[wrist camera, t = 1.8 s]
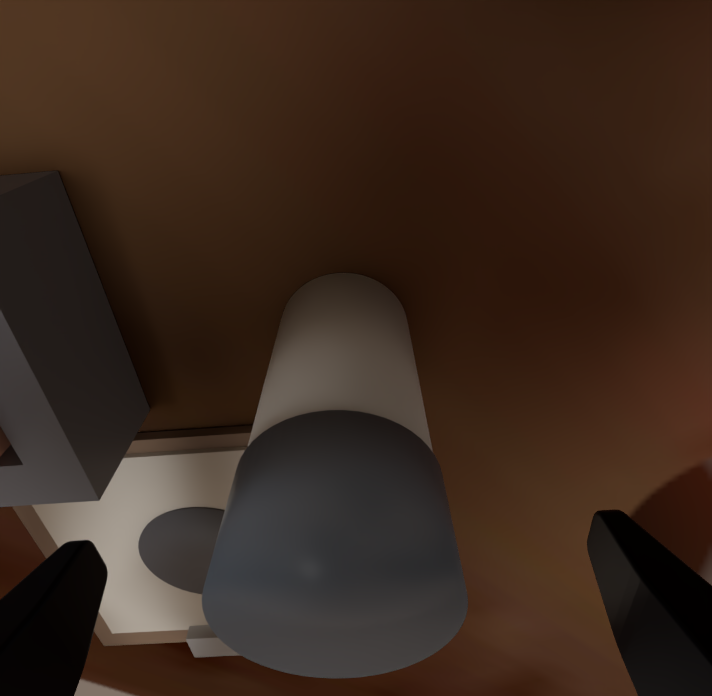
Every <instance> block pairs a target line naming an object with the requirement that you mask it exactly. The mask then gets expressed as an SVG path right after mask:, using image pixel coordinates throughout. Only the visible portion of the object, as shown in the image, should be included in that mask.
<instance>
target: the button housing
mask: <svg viewBox="0 0 712 696" xmlns="http://www.w3.org/2000/svg"><path fill="white" fill-rule="evenodd" d="M149 411H150V408H149V405H148V403H147V400H146V398H145V395H144V393H143V390H142V387H141V385H140V382H139V380H138V377H137V374H136V372H135V369H134V367H133V364H132V361H131V359H130V356H129V354H128V351H127V349H126V346H125V343H124V341H123V338H122V336H121V333H120V330H119V328H118V325H117V323H116V320H115V317H114V315H113V312H112V310H111V307H110V305H109V302H108V299H107V297H106V294H105V292H104V289H103V286H102V284H101V281H100V279H99V276H98V273H97V271H96V268H95V266H94V263H93V261H92V258H91V255H90V253H89V250H88V248H87V245H86V242H85V240H84V237H83V235H82V232H81V229H80V227H79V224H78V222H77V219H76V217H75V214H74V211H73V209H72V206H71V204H70V201H69V198H68V196H67V193H66V191H65V188H64V185H63V183H62V180H61V178H60V175H59V173H58V171H47V172H36V173H25V174H14V175H3V176H0V427H1V429H2V430H3V432H4V434H5V435H6V437H7V438H8V440H9V442H10V443H11V445H10V446H9V447H8V448H7V449H6V451H5V452H4V453H3V454H2V455H1V456H0V507H7V506H23V505H39V504H55V503H71V502H87V501H100V499H101V497H102V495H103V494H104V492H105V490H106V488H107V486H108V485H109V483H110V481H111V479H112V477H113V476H114V474H115V472H116V470H117V468H118V467H119V465H120V463H121V461H122V459H123V458H124V456H125V454H126V452H127V450H128V449H129V447H130V445H131V443H132V441H133V440H134V438H135V436H136V434H137V432H138V431H139V429H140V427H141V425H142V423H143V422H144V420H145V418H146V416H147V415H148V413H149Z"/></svg>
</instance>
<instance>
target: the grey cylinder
mask: <svg viewBox="0 0 712 696" xmlns="http://www.w3.org/2000/svg"><path fill="white" fill-rule="evenodd" d="M467 608H468V598H467V591H466V586H465V582H464V577H463V572H462V567H461V562H460V557H459V553H458V548H457V543H456V538H455V533H454V528H453V524H452V519H451V514H450V509H449V504H448V499H447V495H446V490H445V485H444V480H443V475H442V472H441V468H440V465H439V463H438V461H437V458H436V456H435V455H434V453H433V450H432V445H431V440H430V435H429V430H428V425H427V420H426V415H425V409H424V404H423V399H422V394H421V389H420V384H419V379H418V373H417V368H416V363H415V358H414V353H413V348H412V343H411V337H410V332H409V327H408V322H407V318H406V314H405V311H404V309H403V306H402V305H401V303H400V301H399V300H398V298H397V297H396V296H395V295H394V294H393V292H391V291H390V290H389V289H388V288H387V287H386V286H384V285H383V284H381V283H380V282H378V281H376V280H374V279H372V278H369V277H367V276H364V275H359V274H354V273H333V274H327V275H324V276H320V277H318V278H315V279H313V280H311V281H309V282H308V283H306V284H304V285H303V286H302V287H300V288H299V289H298V290H297V291H296V292H295V293H294V294H293V295H292V297H291V298H290V299H289V301H288V302H287V304H286V306H285V308H284V311H283V314H282V317H281V321H280V325H279V329H278V333H277V336H276V340H275V344H274V348H273V352H272V355H271V359H270V363H269V367H268V371H267V374H266V378H265V382H264V386H263V390H262V393H261V397H260V401H259V405H258V409H257V412H256V416H255V420H254V424H253V428H252V431H251V435H250V439H249V443H248V447H247V448H246V450H245V451H244V453H243V455H242V456H241V458H240V460H239V463H238V466H237V468H236V472H235V475H234V479H233V483H232V486H231V490H230V493H229V497H228V501H227V504H226V508H225V512H224V515H223V519H222V522H221V526H220V530H219V533H218V537H217V541H216V544H215V548H214V551H213V555H212V559H211V562H210V566H209V570H208V573H207V577H206V580H205V584H204V588H203V593H202V609H203V613H204V616H205V619H206V621H207V623H208V624H209V626H210V628H211V629H212V631H213V632H214V633H215V634H216V636H217V637H218V638H219V639H220V640H221V641H222V642H223V643H224V644H226V645H227V646H228V647H229V648H231V649H232V650H234V651H235V652H236V653H238V654H240V655H242V656H243V657H245V658H247V659H249V660H251V661H253V662H256V663H258V664H260V665H263V666H266V667H269V668H272V669H275V670H278V671H282V672H286V673H291V674H296V675H301V676H309V677H318V678H354V677H365V676H372V675H378V674H382V673H387V672H391V671H395V670H398V669H401V668H405V667H407V666H410V665H412V664H415V663H417V662H419V661H421V660H423V659H425V658H427V657H429V656H431V655H432V654H434V653H435V652H437V651H439V650H440V649H441V648H442V647H444V646H445V645H446V644H447V643H448V642H450V640H451V639H452V638H453V637H454V636H455V635H456V634H457V632H458V631H459V629H460V628H461V626H462V624H463V622H464V619H465V617H466V613H467Z"/></svg>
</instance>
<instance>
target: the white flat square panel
mask: <svg viewBox="0 0 712 696" xmlns="http://www.w3.org/2000/svg"><path fill="white" fill-rule="evenodd" d="M252 428H253V425H249V426H234V427H220V428H205V429H190V430H176V431H161V432H146V433H137V434H136V436H135V438H134V440H133V441H132V443H131V445H130V447H129V449H128V450H127V452H126V454H125V456H124V458H123V459H122V461H121V463H120V465H119V467H118V468H117V470H116V472H115V474H114V476H113V477H112V479H111V481H110V483H109V485H108V486H107V488H106V490H105V492H104V494H103V495H102V497H101V499H100V501H87V502H71V503H55V504H39V505H23V506H12V507H13V509H14V510H15V512H16V513H17V515H18V516H19V518H20V519H21V521H22V522H23V524H24V525H25V527H26V528H27V530H28V531H29V533H30V535H31V536H32V538H33V539H34V541H35V542H36V544H37V545H38V547H39V548H40V550H41V551H42V553H43V554H44V556H45V557H46V559H47V558H48V557H49V556H50V555H51V554H52V553H54V552H55V551H56V550H57V549H58V548H59V547H60V546H62V545H63V544H64V543H66V542H69V541H77V540H89V541H91V542H93V544H94V545H95V547H96V548H97V550H98V552H99V554H100V555H101V557H102V559H103V561H104V562H105V564H106V566H107V571H108V576H107V582H106V586H105V590H104V594H103V598H102V601H101V605H100V609H99V613H98V617H97V621H96V624H95V628H94V631H95V633H96V634H97V636H98V638H99V639H100V641H101V642H102V644H103V645H104V646H113V645H133V644H152V643H172V642H187V643H188V645H189V647H190V649H191V651H192V653H193V655H194V657H212V656H232V655H240V654H238V653H236V652H235V651H234V650H232V649H231V648H229V647H228V646H227V645H226V644H224V643H223V642H222V641H221V640H220V639H219V638H218V637H217V636H216V634H215V633H214V632H213V631H212V629H211V628H210V626H209V624H208V623H207V621H206V619H205V616H204V613H203V609H202V593H203V588H204V584H205V580H206V577H207V573H208V570H209V566H210V562H211V559H212V555H213V551H214V548H215V544H216V541H217V537H218V533H219V530H220V526H221V522H222V519H223V515H224V512H225V508H226V504H227V501H228V497H229V493H230V490H231V486H232V483H233V479H234V475H235V472H236V468H237V466H238V463H239V460H240V458H241V456H242V455H243V453H244V451H245V450H246V448H247V447H248V443H249V439H250V435H251V431H252Z"/></svg>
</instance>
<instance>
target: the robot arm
mask: <svg viewBox="0 0 712 696" xmlns="http://www.w3.org/2000/svg"><path fill="white" fill-rule="evenodd" d="M587 549H588V553H589V557H590V560H591V563H592V567H593V570H594V573H595V576H596V580H597V583H598V586H599V589H600V593H601V596H602V599H603V602H604V605H605V609H606V612H607V615H608V618H609V622H610V625H611V628H612V631H613V634H614V637H615V640H616V643H617V646H618V648H619V651H620V653H621V656H622V658H623V661H624V663H625V666H626V668H627V670H628V673H629V675H630V677H631V680H632V682H633V684H634V687H635V689H636V692H637V694H638V696H712V586H711V585H710V584H709V583H708V582H707V581H705V580H704V579H703V578H702V577H701V576H700V575H698V574H697V573H696V572H695V571H694V570H693V569H691V568H690V567H689V566H688V565H687V564H685V563H684V562H683V561H682V560H680V559H679V558H678V557H677V556H676V555H674V554H673V553H672V552H671V551H670V550H668V549H667V548H666V547H665V546H664V545H663V544H661V543H660V542H659V541H658V540H657V539H655V538H654V537H653V536H652V535H651V534H649V533H648V532H647V531H646V530H645V529H643V528H642V527H641V526H640V525H639V524H637V523H636V522H635V521H634V520H633V519H631V518H630V517H629V516H628V515H627V514H625V513H624V512H622V511H620V510H601V511H597V512H596V513H595V514H594V516H593V520H592V523H591V527H590V531H589V535H588V540H587ZM107 576H108V571H107V566H106V564H105V562H104V561H103V559H102V557H101V555H100V554H99V552H98V550H97V548H96V547H95V545H94V544H93V542H91V541H89V540H77V541H69V542H66V543H64V544H63V545H62V546H60V547H59V548H58V549H57V550H56V551H55V552H54V553H52V554H51V555H50V556H49V557H48V558H47V559H46V560H45V561H43V562H42V563H41V564H40V565H39V566H38V567H37V568H36V569H34V570H33V571H32V572H31V573H30V574H29V575H28V576H27V577H25V578H24V579H23V580H22V581H21V582H20V583H19V584H17V585H16V586H15V587H14V588H13V589H12V590H11V591H10V592H8V593H7V594H6V595H5V596H4V597H3V598H2V599H1V600H0V696H74V694H75V691H76V688H77V686H78V683H79V680H80V677H81V674H82V671H83V668H84V665H85V662H86V658H87V655H88V651H89V647H90V643H91V640H92V636H93V632H94V628H95V624H96V621H97V617H98V613H99V609H100V605H101V601H102V598H103V594H104V590H105V586H106V582H107Z"/></svg>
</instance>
